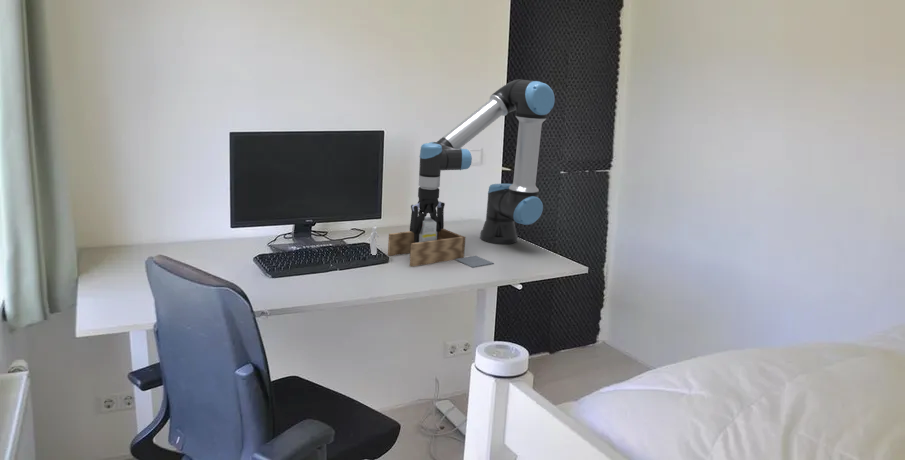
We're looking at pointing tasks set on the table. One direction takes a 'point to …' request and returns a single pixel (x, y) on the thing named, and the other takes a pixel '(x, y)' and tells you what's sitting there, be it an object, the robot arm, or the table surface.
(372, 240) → the figurine
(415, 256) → the wooden frame
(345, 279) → the table surface
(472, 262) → the mat
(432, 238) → the ink box
